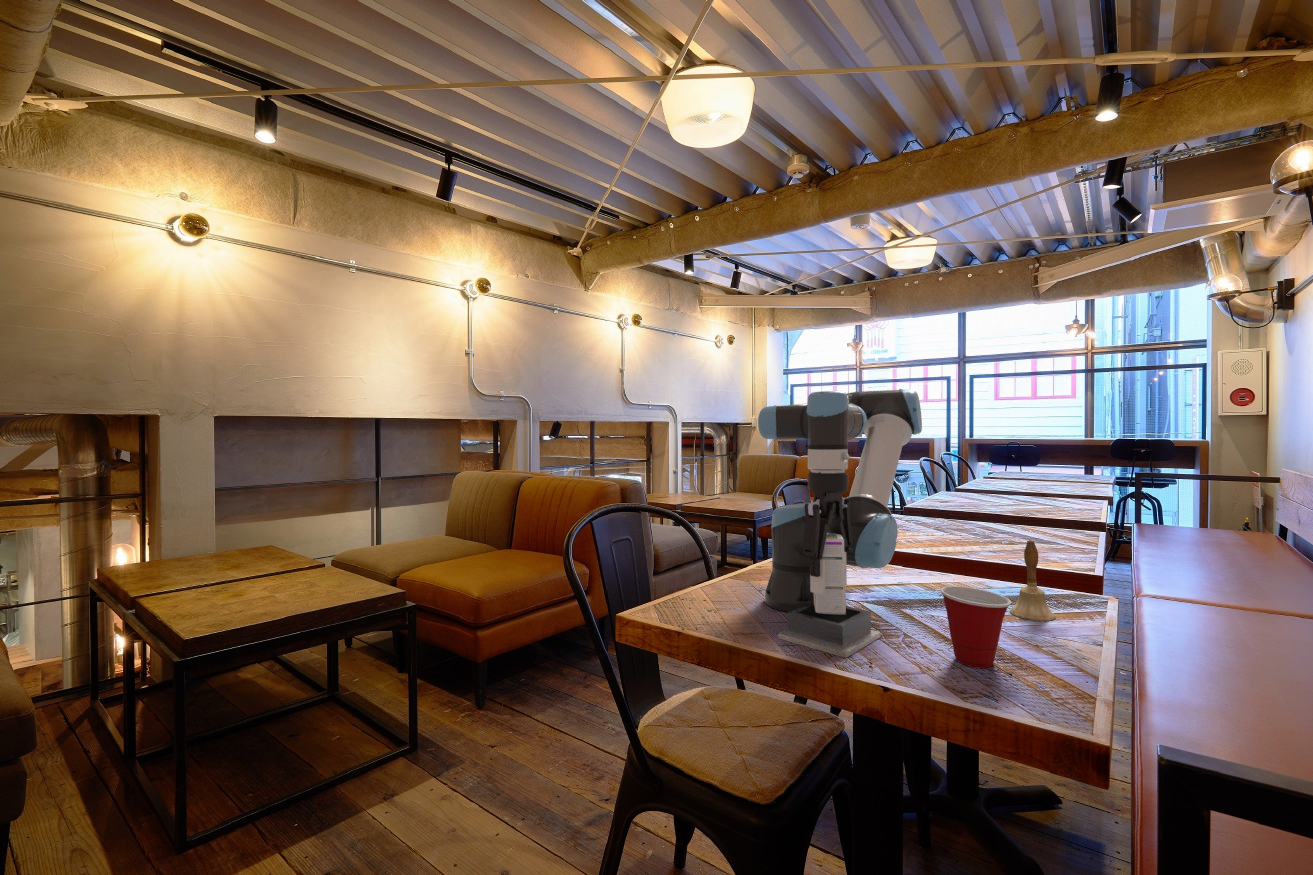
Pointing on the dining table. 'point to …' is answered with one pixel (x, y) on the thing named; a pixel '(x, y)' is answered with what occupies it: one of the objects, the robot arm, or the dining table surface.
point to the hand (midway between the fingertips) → (828, 588)
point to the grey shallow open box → (830, 630)
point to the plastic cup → (974, 623)
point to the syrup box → (833, 578)
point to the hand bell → (1032, 591)
